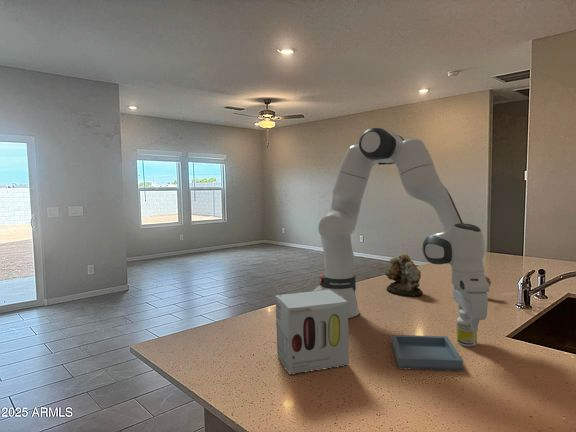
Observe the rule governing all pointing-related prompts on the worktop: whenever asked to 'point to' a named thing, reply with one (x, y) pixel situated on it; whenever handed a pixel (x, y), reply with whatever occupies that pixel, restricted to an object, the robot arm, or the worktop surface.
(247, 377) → the worktop surface
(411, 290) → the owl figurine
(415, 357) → the tray
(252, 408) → the worktop surface
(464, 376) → the worktop surface
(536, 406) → the worktop surface
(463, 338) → the supplement bottle
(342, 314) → the supplement box
